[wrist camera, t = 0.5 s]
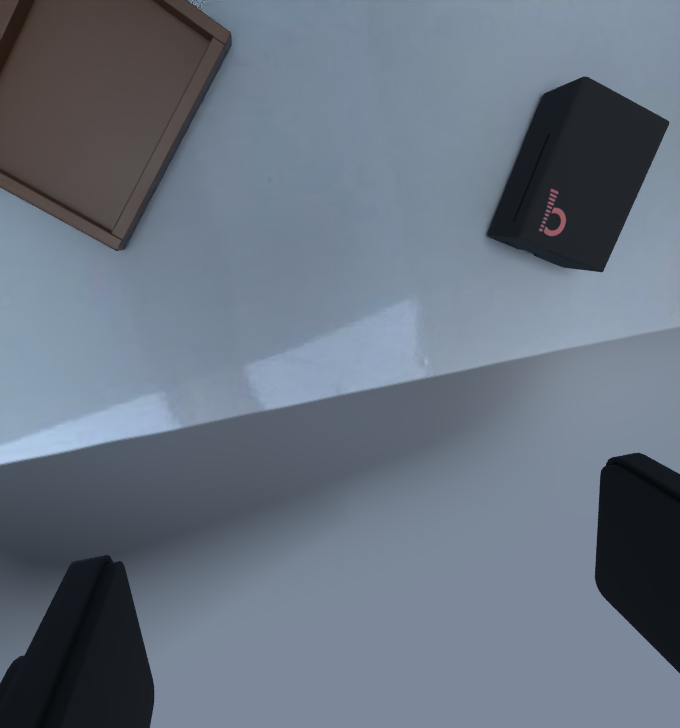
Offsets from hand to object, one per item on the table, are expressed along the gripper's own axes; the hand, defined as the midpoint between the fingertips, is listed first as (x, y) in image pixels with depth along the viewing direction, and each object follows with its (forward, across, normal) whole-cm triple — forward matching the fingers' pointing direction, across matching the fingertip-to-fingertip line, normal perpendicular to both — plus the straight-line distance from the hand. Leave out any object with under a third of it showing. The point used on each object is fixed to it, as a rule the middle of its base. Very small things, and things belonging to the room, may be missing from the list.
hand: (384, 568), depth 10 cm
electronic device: (+29, -22, -8) cm, 38 cm away
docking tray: (+29, +9, -15) cm, 34 cm away
